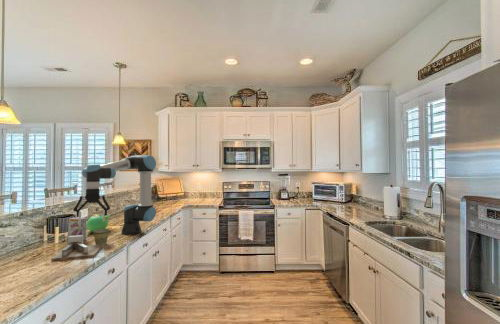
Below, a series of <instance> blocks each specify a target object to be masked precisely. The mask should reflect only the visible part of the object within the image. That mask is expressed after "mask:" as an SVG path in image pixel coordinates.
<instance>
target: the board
mask: <svg viewBox="0 0 500 324" xmlns="http://www.w3.org/2000/svg"><path fill="white" fill-rule="evenodd" d="M77 243H78V242H71V243H70V244H69V245H68V246H67V245H66V246H65V247H63V248H62V249H61V250H60V251H59V252H57V254H55V255H54V256H53V257H52V258H50V259H51V260H50V261H51V262H57V261H58V262H59V261H70V260H78V259H79V260H81V259H82V260H83V259H91V258H92V257H93V258H95V257H96V256H97V254H98V253H99V252H100V250H101V249H102V247H103V246H102V245H96V244H95V245H87V246H88V253H82V252H80V251H78V250H76V244H77Z"/></svg>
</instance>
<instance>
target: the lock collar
mask: <svg viewBox="0 0 500 324" xmlns="http://www.w3.org/2000/svg"><path fill="white" fill-rule="evenodd" d="M72 242H77V243H81V244H83V245H84V241H83V235H76V236H68V235H67V236H66V246H68V245H69V244H71V243H72Z"/></svg>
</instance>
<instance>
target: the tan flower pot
mask: <svg viewBox="0 0 500 324" xmlns="http://www.w3.org/2000/svg"><path fill="white" fill-rule="evenodd" d="M110 232H111V231H110V229H109V228H105V229H98V230H94V231H92V233H93V238H94V243H95V246H96V245H102V247H103V246H106V245H107V242H108V237H109V233H110Z"/></svg>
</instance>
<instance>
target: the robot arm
mask: <svg viewBox="0 0 500 324" xmlns="http://www.w3.org/2000/svg"><path fill="white" fill-rule="evenodd" d="M156 166H157V161H156V159H155V157H154V156H153V155H150V154H149V155H148V154H146V155H145V154H139V155H137V154H134V155H132V156H128V157H123V158H122V159H121V160H117V161H116V160H115V161H113V162H108V163H105V164H95V163H94V164H92V163H91V164H87V165H86V167H85V168H83V169H82V171H81V173H82V176H83V178H85V179H86V182H85V188H86V189H85V196H84V195H80V196H79V199H78V201H77V203H76V205H75V207H73V209H72V210H73V212H76V218H78V223H79V222H81V218H82V211H81V210H82V209H83V208H84V207H85V206H86V205H87V204H92V203H93V204H95V203H96V204H98V205H99V206H100V207H101V208H102V209H103V211H102V212H103V213H102V215H103V221H105V216H108V211H109V210H111V207H110V205H109V203H108V202H107V199H106V195H100V192H101V191H100V190H101V189H100V187H101V186H100V184H101V183H100V182H101V180H102V179H108V180H109V179H114V178H115V177H116V174H117V173H116V172H119V171H122V170H123V171H124V170H126V171H128V170H137V173H138V174H139V203H138V204H137V203H136V204H129V205H125V206H124V209H123V226H122V229H121V234H122V235H124V236H127V235H128V236H131V235H137V234H140V233H142V226H141V224H140V222H152V221H153V220H154V219H155V217H156V214H157V209H156V208H155V207H154V204H153V203H152V173H153V172H154V170H155V169H156ZM84 199H85V201H84V202H83V204H82V205H81V203H82V201H83V200H84ZM100 199H101V200H102V201H103V203H104V204H103V203H102V202H101V201H100ZM80 205H81V206H80Z"/></svg>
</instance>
